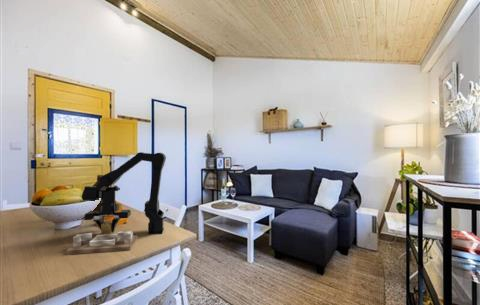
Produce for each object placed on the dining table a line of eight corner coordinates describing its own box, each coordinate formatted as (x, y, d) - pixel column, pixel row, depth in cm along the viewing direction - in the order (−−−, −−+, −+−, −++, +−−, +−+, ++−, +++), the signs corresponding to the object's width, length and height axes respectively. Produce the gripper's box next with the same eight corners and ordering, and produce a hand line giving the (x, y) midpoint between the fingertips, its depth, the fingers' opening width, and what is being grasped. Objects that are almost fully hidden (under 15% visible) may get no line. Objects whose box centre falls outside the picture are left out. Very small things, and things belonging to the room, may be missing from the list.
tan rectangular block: (106, 232, 108) (106, 220, 108) (115, 231, 109) (115, 219, 109) (101, 237, 102) (101, 224, 102) (110, 236, 103) (110, 224, 103)
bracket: (105, 227, 114) (106, 204, 114) (103, 224, 120) (103, 202, 120) (128, 223, 122) (128, 201, 121) (124, 219, 127) (124, 199, 127)
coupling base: (137, 238, 102) (137, 226, 101) (130, 250, 90) (130, 236, 90) (82, 241, 97) (82, 229, 97) (66, 254, 85) (66, 240, 85)
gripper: (134, 195, 115) (133, 225, 115) (94, 196, 111) (94, 227, 112) (127, 200, 104) (127, 233, 104) (83, 202, 100) (83, 236, 101)
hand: (108, 232), depth 105 cm, fingers closed on tan rectangular block, 4 cm apart
